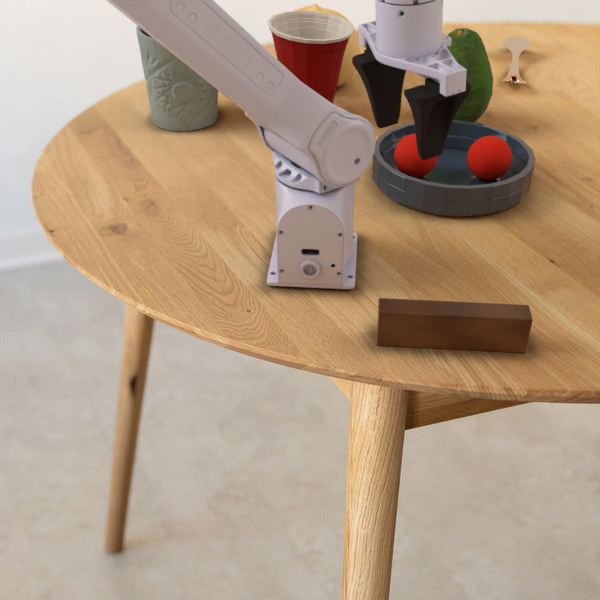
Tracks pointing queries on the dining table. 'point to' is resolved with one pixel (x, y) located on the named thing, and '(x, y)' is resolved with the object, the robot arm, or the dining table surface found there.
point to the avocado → (472, 72)
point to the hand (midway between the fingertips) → (408, 139)
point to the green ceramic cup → (175, 89)
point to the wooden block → (453, 325)
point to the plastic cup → (312, 47)
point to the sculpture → (351, 47)
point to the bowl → (454, 173)
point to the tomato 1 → (412, 158)
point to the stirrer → (515, 56)
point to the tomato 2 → (489, 158)
